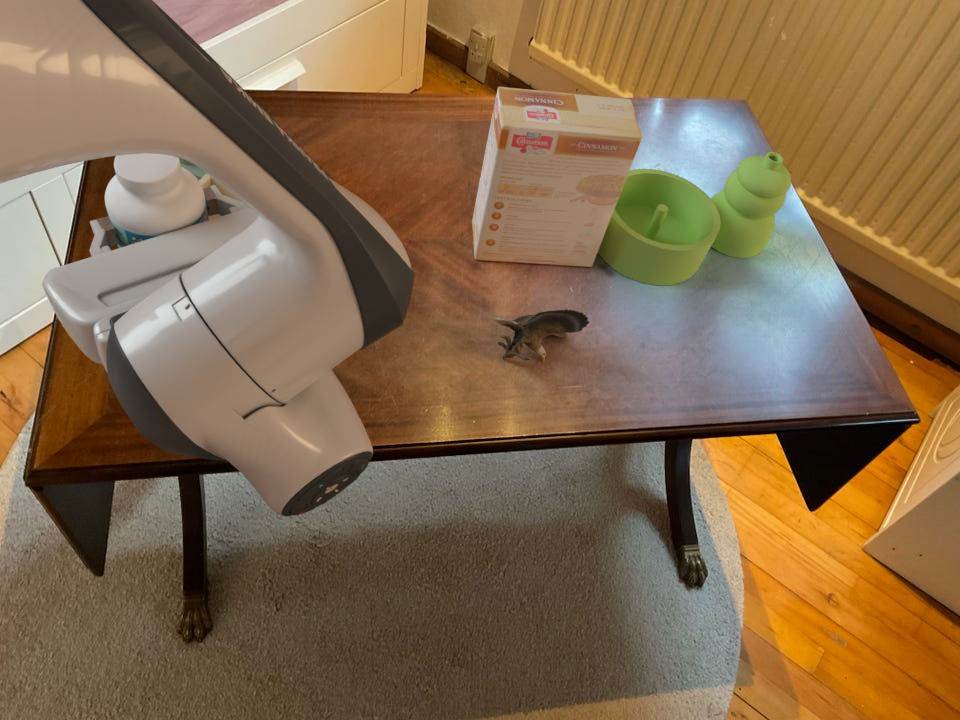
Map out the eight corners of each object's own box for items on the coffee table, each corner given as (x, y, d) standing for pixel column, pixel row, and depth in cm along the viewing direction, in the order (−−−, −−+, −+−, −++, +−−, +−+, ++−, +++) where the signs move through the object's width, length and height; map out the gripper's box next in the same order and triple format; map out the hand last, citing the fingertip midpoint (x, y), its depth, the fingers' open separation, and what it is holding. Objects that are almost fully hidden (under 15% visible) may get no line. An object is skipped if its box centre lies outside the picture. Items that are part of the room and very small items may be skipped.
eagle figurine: (540, 389, 78) (599, 340, 81) (518, 336, 74) (580, 287, 77) (497, 368, 84) (553, 323, 87) (474, 318, 80) (534, 273, 83)
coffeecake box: (584, 228, 96) (632, 97, 80) (593, 269, 91) (645, 138, 76) (470, 220, 93) (496, 83, 78) (473, 261, 89) (502, 124, 74)
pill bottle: (112, 292, 65) (69, 170, 54) (165, 240, 70) (135, 118, 59) (187, 324, 64) (157, 207, 54) (235, 270, 69) (217, 152, 58)
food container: (619, 292, 90) (655, 215, 80) (575, 210, 97) (602, 130, 88) (787, 267, 97) (839, 194, 87) (734, 193, 105) (775, 118, 95)
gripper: (351, 249, 57) (270, 144, 63) (74, 349, 48) (8, 216, 54) (350, 302, 62) (274, 201, 68) (98, 402, 53) (35, 275, 59)
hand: (155, 208), depth 61 cm, fingers closed on pill bottle, 7 cm apart
